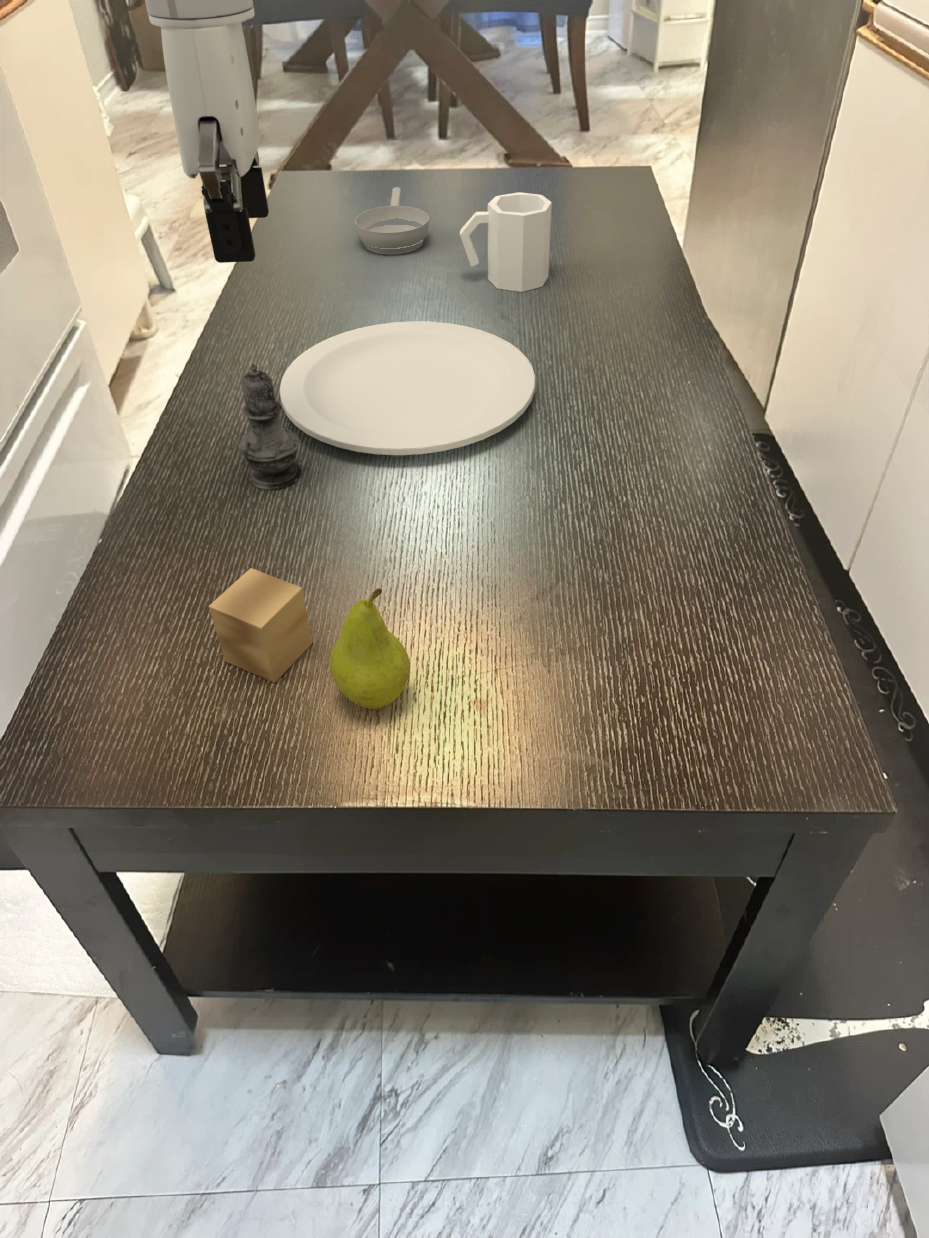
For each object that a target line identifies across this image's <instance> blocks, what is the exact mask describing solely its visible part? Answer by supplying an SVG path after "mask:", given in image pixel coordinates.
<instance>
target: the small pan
mask: <svg viewBox="0 0 929 1238" xmlns="http://www.w3.org/2000/svg"><path fill="white" fill-rule="evenodd" d="M391 191H392V192H391V198H390V204H389V205H386V206H379V207H373V208H371V209H367V210H364V211H362V212H361V213H359V214H358V215H357V216H356V217H355V219H354V223H355V228H356V229H355V230H356V232H357V235H358V237H359V239H360V241H361V242H362V243H363V244H364V243H365V244H364V246H365V248H366V249H367V250H368V251H370V252H372V253H375V254H381V255H390V256H391V255H403V254H407V253H411V252H414V251H416V250H418V249H420V247H422V245H423V243H424V242H425V239H426V237H427V235H428V233H429V227H430V216H429V214H428V213H427V212H426V211H424V210H423V209H420V208H418V207H413V206H405V205H400V203H401V201H400V200H401V194H402V193H401V192H402V188H401V187H399V186H395V187H393V188H392V190H391ZM395 218H399V219H404V220H408V221H415V222H418V223H420V224H422V226H420V227H418V228H417V227H414V226H409V225H384V226H379V227H375V228H372V229H370V230H366V228H367V227H369V226H371V225H372V224H374V223H377V222H379V221H385V220H390V219H395ZM424 238H425V239H424ZM423 239H424V240H423ZM421 240H423V241H422V242H420V241H421ZM418 242H420V243H418ZM416 243H418V244H416ZM413 244H416V245H414V246H411V245H413ZM368 245H369V246H368ZM371 246H373V247H371ZM404 246H410V247H406V248H400V249H380V248H398V247H404ZM374 247H377V248H374Z"/></svg>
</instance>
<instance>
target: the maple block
mask: <svg viewBox="0 0 929 1238" xmlns="http://www.w3.org/2000/svg"><path fill="white" fill-rule="evenodd" d="M208 609H209V613H210V616H211V619H212V623H213V627H214V629H215V632H216V636H217V641H218V642H219V646H220V650H221V653H222V656H223V659H224V662H226V663H228V664H230V665H233V666H235V667H237V668H239V669H242V670H244V671H247V672H248V673H251V674H253V675H255V676H257V677H260V678H262V679H264V680H267V681H269V682H271V683H272V684H276V683H277V681H278V680H280V678H281V677H282V676H284V674H285V673H286V672H287V671H288V670H289V669H290V668H291V667H292V666H293V665H294V664H295V663H296V661H298V659H300V657H301V656H302V655H303V654H304V653H305V652H306V651H307V650H308V649H309V648H310V647H311V646H312V644H313V641H314V640H313V636H312V635H313V634H312V631H311V627H310V626H311V625H310V621H309V616H308V615H309V614H308V611H307V606H306V600H305V595H304V589H303V587H301V586H300V585H299V586H298V585H297V584H294V583H291V582H289V581H286V580H284V579H282V578H279V577H276V576H274V575H270V574H268V573H265V572H263V571H260V570H257V569H255V568H252V567H250V568H249V569H248V570H247V571H246V572H245V573H243V574H242V575H241V576H240V577H239V578H238V579H237V580H235V581H234V583H232V584H231V585H230V586H229V587H228V588H227V589H226V590H225V591H223V592H222V593H221V594H220V595H219V596H218V597H217V598H216V599H215V600H213V601H212V602H211V603H210V604H209V605H208Z"/></svg>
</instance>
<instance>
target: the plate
mask: <svg viewBox="0 0 929 1238" xmlns="http://www.w3.org/2000/svg"><path fill="white" fill-rule="evenodd" d="M535 386H536V376H535V371H534V367H533V366H532V363H531V362H530V360H529V359H528V357H527V356H526V355H525V354H524V353H523V352H522V351H521V350H520V349H519V348H518V347H516V346H515V345H513V344H512V343H510V342H509V341H507V340H505V339H503V338H501V337H499V336H497V335H495V334H492V333H490V332H487V331H485V330H482V329H478V328H475V327H471V326H467V325H461V324H454V323H451V322H439V321H420V320H418V321H417V320H416V321H415V320H413V321H412V320H411V321H394V322H386V323H378V324H373V325H368V326H363V327H359V328H354V329H351V330H348V331H344V332H341V333H339V334H335V335H333V336H331V337H328V338H326V339H324V340H322V341H320V342H318V343H316V344H314V345H312V346H311V347H310V348H308V349H306V350H305V351H303V352H302V353H301V354H300V355H298V356H297V357H296V358H295V359H294V360H292V362H291V363H290V364H289V366H288V367H287V368H286V370H285V371H284V374H283V376H282V377H281V380H280V386H279V396H280V401H281V402H280V404H281V408H282V409H283V411H284V413H285V415H286V416H287V418H288V419H289V420H290V421H291V422H292V423H293V425H294V426H295V427H297V428H298V429H299V430H300V431H302V432H303V433H305V434H306V435H308V436H309V437H312V438H314V439H315V440H318V441H320V442H322V443H325V444H328V445H331V446H334V447H335V448H339V449H345V450H349V451H353V452H357V453H364V454H372V455H381V456H382V455H383V456H411V455H413V456H414V455H424V454H425V455H426V454H432V453H438V452H439V453H440V452H446V451H449V450H454V449H458V448H462V447H465V446H466V447H467V446H468V445H469V446H470V445H471V444H474V443H478V442H480V441H483V440H485V439H487V438H489V437H492V436H493V435H496V434H497V433H499V432H501V431H503V430H504V429H507V427H509V426H511V425H512V424H513V423H515V422H516V421H517V420H518V419H519V418H520V417H521V416H522V415H523V414H525V412H526V410H527V408H528V407H529V406H530V405H531V402H532V400H533V399H534V398H533V397H534V395H535V389H536V387H535Z"/></svg>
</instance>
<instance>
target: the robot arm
mask: <svg viewBox="0 0 929 1238" xmlns="http://www.w3.org/2000/svg"><path fill="white" fill-rule="evenodd" d="M144 3H145V6H146V7H145V8H146V12H147V15H148V20H149V23H150V24H151V25H154V26H156V27H160V31H161V32H160V34H161V35H160V36H161V44H162V53H163V61H164V69H165V76H166V82H167V88H168V95H169V99H170V100H169V101H170V105H171V112H172V116H173V122H174V127H175V133H176V138H177V143H178V144H177V145H178V149H179V154H180V160H181V164H182V169H183V173H184V174H185V175H186V177H188V178H189V179H196V178H197V177H198V175H199V176H200V179H201V185H202V186H200V188H201V195H202V200H203V201H202V202H203V209H204V214H205V220H206V224H207V229H208V233H209V236H210V243H211V247H212V252H213V257H214V260H215V261H216V262H217V263H220V264H222V263H223V264H224V263H227V264H228V263H245V262H246V263H247V262H249V263H250V262H253V261H254V260H255V259H256V250H255V244H254V238H253V233H252V228H251V222H250V219H264V218H267V217H268V216H269V213H270V211H269V205H268V198H267V192H266V186H265V179H264V174H263V168H262V166H260V156H259V151H258V148H259V145H260V128H259V118H258V111H257V103H256V97H255V92H254V91H255V90H254V85H253V79H252V73H251V72H252V71H251V67H250V62H249V56H248V50H247V46H246V37H245V34H244V29H243V24H242V23H245V22H247V21H248V20H251V19H253V18H254V17H255V15H256V13H255V8H254V2H253V0H144Z"/></svg>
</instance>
